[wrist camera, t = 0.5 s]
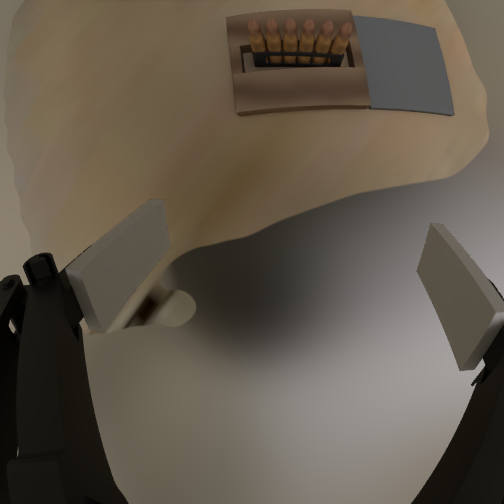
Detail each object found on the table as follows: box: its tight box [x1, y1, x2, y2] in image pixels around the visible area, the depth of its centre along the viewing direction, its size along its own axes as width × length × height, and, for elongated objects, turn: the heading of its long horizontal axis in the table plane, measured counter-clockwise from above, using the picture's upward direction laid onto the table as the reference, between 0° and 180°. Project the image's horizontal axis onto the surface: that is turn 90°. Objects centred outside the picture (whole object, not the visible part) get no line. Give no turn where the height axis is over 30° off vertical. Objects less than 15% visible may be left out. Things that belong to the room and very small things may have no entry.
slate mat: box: [353, 16, 454, 116], centre depth 27 cm, size 14×13×1 cm
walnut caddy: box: [226, 9, 371, 116], centre depth 29 cm, size 14×16×2 cm
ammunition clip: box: [248, 18, 352, 67], centre depth 24 cm, size 11×2×12 cm, turn 91°
